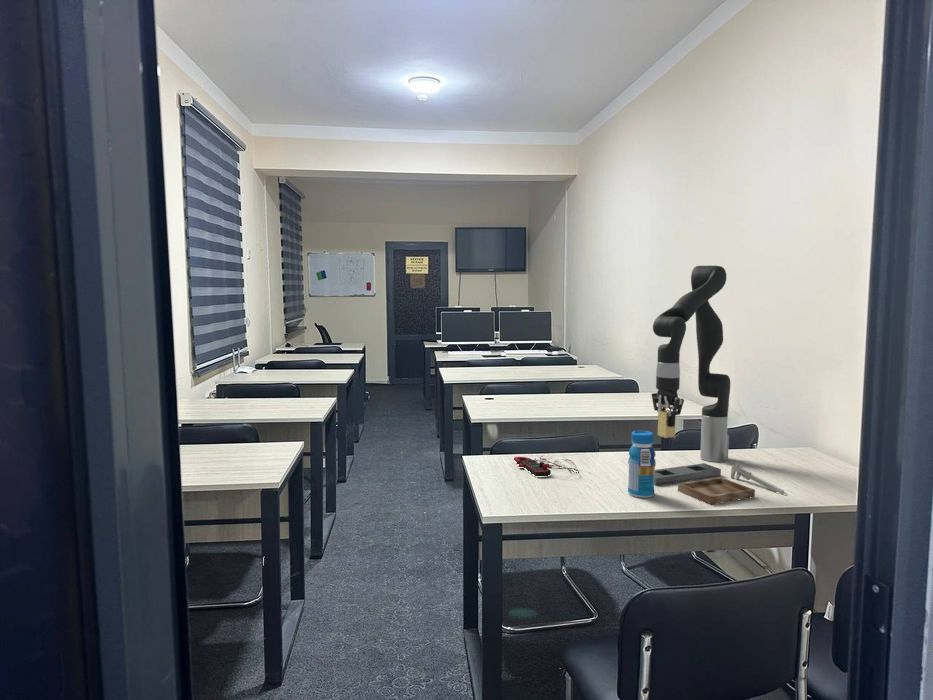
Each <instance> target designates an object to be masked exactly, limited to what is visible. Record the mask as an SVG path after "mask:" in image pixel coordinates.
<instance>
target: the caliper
mask: <svg viewBox="0 0 933 700" xmlns="http://www.w3.org/2000/svg"><path fill="white" fill-rule="evenodd" d="M740 465H741V463H738V462H737V461H736V462H734V464H732V466H731V469H730V478H731V479H734V478H735V479H736V480H735V481H738V480H739V479H740V478H741V477H742V478H743V479H745V480H746V481H749V480H751V481H754V482H755V483H757V484H759V485H761V486H763V487H764V488H767V489H768V490H771V491H772V490H773V491H772V492H774V491H776V492H779V493H782V494H781V495H783V494H787V492H785V490H784V489H782V488H780V487H777V486H776V485H774V484H772V483H770V482H768V481H766V480H764V479H762V478H760V477H758V476H756V475H754V474H752V472H751V471H749V470H747V469H745V468H744V467H741V466H740ZM737 479H738V480H737ZM776 492H775V493H776ZM779 493H778V494H779Z"/></svg>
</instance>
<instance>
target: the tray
mask: <svg viewBox="0 0 933 700" xmlns="http://www.w3.org/2000/svg"><path fill="white" fill-rule="evenodd" d="M679 491H680V492H679ZM677 492H679V493H681V492H682V494H684V495H686V496H689V497H690V496H691V497H690V498H693V499H696V500H697V499H698V501H700V502H702V501H703V502H702V503H704V502H705V503H704V504H707V505H709V504H713V505H717V504H716V503H719V504H722V503H721V502H725V503H729V502H728V501H731V502H734V501H733V500H737V501H739V500H738V499H742V500H745V499H744V498H748V499H751V498H750V497H754V498H755V496H756V493H755V492H756V489H754V488H751V487H749V486H745V485H743V484H741V483H738V482H735V481H732V480H730V479H727V478H725V477H722V476H718V477H712V478H705V479H698V480H691V481H685V482H678V483H677Z"/></svg>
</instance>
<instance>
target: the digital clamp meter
mask: <svg viewBox="0 0 933 700" xmlns="http://www.w3.org/2000/svg"><path fill="white" fill-rule="evenodd" d="M543 456H544V455H540V456H539V458H540V459H536V458H534V459H532V458H530V457H526V456H514V457H513V461H514V460H515V461H516V462H517V464H519V467H524V468H526V469H527V470H528V471H530V472H531V473H532V474H534V475H535V476H548V475H550V474H551V473H552V471H551V469H553V470H554V469H555V470H563V469H564V470H568V472H570V474H572V473H575V472H574V471H573V470H571V469H574V470H576V471H578V473H577V472H576V473H575V474H580V470H578V469H576V468H572V467H571V468H568V467H566V466H564V465H563V466H562V465H560V464H557V463H559V462H560V461H558V460H556V462H557V463H555V462H552V461H550V460H546V458H542V457H543ZM565 459H566V460H565V461H569V462H571V463H572V464H573V465H575V463H574V462H573V461H572V460H570V459H567V458H565ZM517 464H516V465H517ZM519 467H518V468H519ZM560 467H561V468H560ZM532 474H531V475H532ZM535 476H534V477H535Z"/></svg>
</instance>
